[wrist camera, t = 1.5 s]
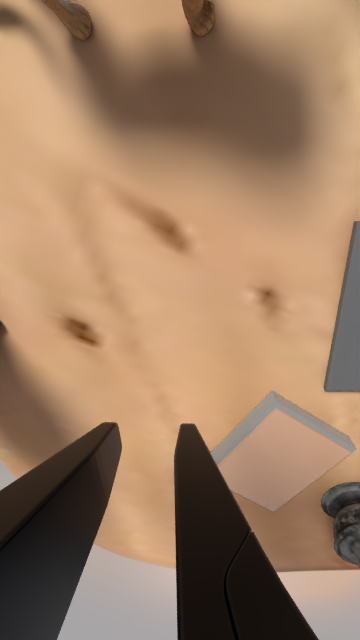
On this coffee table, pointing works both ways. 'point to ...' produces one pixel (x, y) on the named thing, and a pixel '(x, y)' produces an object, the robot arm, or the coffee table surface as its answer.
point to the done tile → (278, 452)
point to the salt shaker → (345, 519)
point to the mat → (347, 326)
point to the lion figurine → (80, 23)
